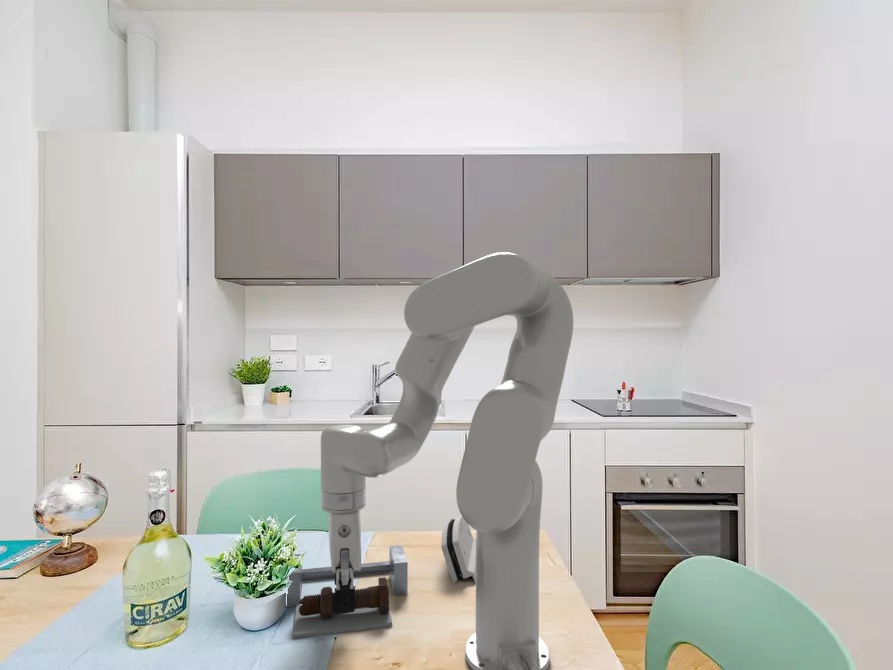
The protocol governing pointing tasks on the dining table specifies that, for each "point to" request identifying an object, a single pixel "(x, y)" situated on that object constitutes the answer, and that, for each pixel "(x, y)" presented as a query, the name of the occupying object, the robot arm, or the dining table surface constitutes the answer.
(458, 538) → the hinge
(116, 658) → the dining table surface
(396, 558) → the vise
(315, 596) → the bolt
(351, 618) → the mat
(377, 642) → the dining table surface
